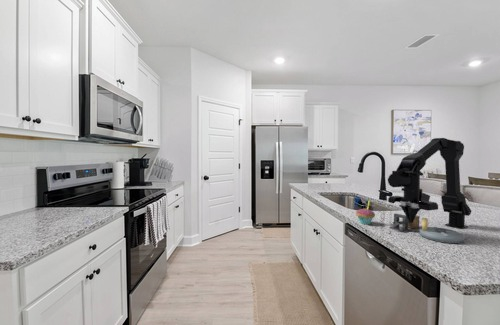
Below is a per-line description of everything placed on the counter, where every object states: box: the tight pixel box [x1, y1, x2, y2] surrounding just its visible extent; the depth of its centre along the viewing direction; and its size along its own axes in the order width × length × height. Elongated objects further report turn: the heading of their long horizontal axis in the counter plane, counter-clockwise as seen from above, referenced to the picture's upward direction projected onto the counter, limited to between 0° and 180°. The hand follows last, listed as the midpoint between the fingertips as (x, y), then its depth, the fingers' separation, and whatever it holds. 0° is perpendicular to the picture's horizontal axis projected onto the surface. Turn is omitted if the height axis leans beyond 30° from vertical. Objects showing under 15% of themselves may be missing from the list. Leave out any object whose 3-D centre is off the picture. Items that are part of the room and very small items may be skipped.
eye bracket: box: [389, 213, 413, 233], centre depth 111 cm, size 5×7×7 cm
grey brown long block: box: [390, 215, 420, 229], centre depth 112 cm, size 16×4×5 cm, turn 115°
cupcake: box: [355, 199, 376, 226], centre depth 121 cm, size 9×8×12 cm
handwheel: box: [419, 217, 465, 244], centre depth 100 cm, size 14×14×7 cm
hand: (411, 222), depth 106 cm, fingers closed
